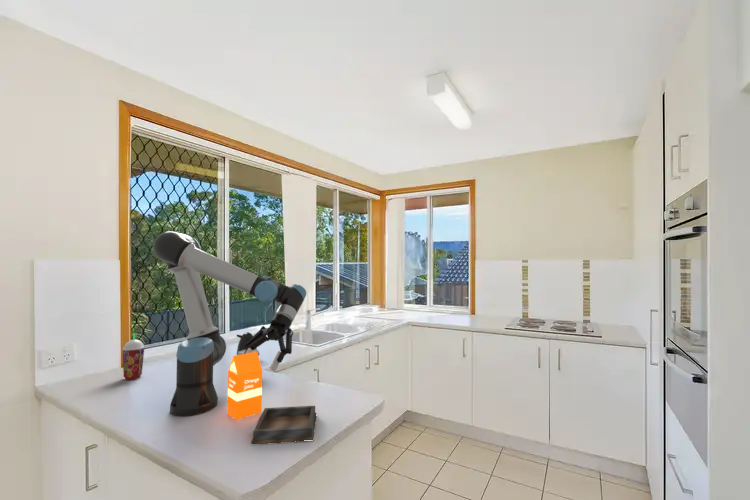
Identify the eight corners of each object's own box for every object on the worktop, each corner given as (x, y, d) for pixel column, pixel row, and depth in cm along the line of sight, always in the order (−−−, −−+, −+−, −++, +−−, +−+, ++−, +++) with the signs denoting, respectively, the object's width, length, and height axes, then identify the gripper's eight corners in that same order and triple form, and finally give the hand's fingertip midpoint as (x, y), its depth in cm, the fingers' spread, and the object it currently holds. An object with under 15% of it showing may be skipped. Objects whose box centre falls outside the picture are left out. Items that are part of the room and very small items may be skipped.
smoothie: (148, 375, 160) (149, 331, 161) (134, 381, 152) (135, 335, 153) (131, 375, 161) (132, 331, 162) (116, 380, 153) (118, 335, 154)
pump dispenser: (235, 359, 187) (235, 331, 188) (255, 357, 191) (256, 330, 192) (236, 364, 178) (237, 334, 178) (257, 362, 182) (258, 333, 183)
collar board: (251, 445, 97) (251, 432, 97) (263, 418, 114) (263, 407, 114) (313, 441, 99) (313, 428, 99) (316, 415, 116) (316, 405, 116)
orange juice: (227, 413, 118) (228, 354, 119) (251, 406, 125) (252, 349, 126) (236, 420, 113) (237, 358, 114) (262, 412, 119) (262, 353, 120)
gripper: (314, 326, 135) (290, 377, 120) (262, 322, 144) (235, 369, 130) (306, 314, 130) (280, 366, 116) (253, 311, 140) (224, 358, 125)
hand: (256, 367), depth 123 cm, fingers open, 13 cm apart
